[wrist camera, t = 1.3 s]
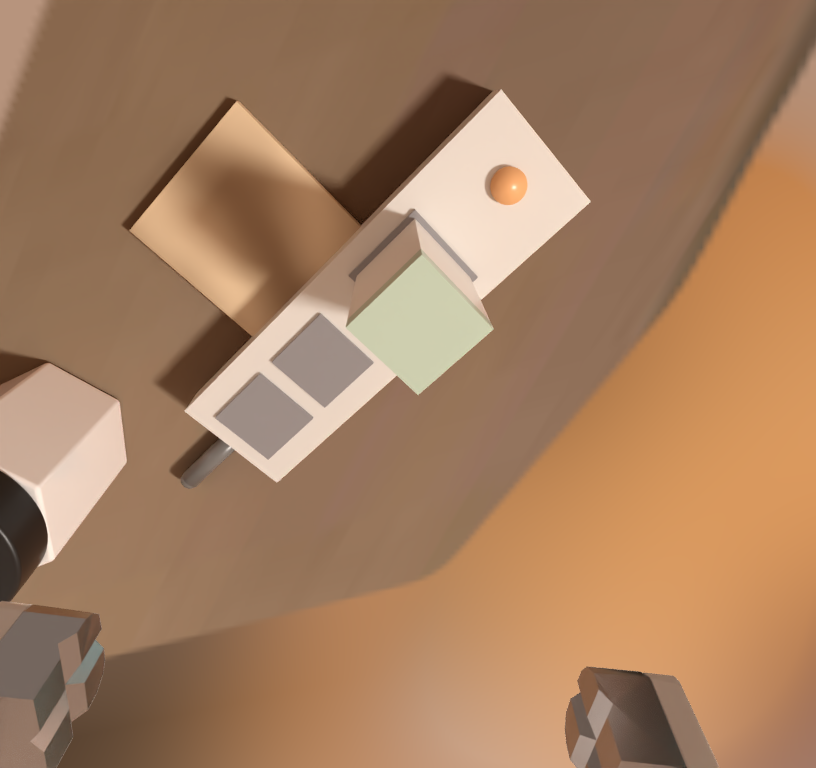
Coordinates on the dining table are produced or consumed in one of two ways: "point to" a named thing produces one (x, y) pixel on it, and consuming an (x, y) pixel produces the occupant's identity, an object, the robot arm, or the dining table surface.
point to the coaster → (245, 221)
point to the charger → (416, 308)
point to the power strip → (334, 284)
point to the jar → (51, 465)
